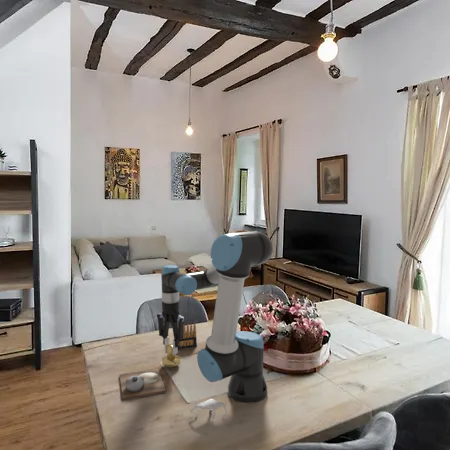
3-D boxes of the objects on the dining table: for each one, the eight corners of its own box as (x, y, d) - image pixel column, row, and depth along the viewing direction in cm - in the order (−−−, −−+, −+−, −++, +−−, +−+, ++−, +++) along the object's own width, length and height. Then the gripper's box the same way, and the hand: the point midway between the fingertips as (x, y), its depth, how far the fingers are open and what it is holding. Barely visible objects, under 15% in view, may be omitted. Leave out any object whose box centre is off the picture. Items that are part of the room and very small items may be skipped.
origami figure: (220, 406, 131) (220, 393, 131) (228, 420, 124) (228, 406, 123) (188, 413, 127) (188, 399, 127) (194, 427, 119) (194, 413, 119)
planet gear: (182, 365, 158) (182, 347, 157) (164, 368, 155) (163, 350, 154) (178, 357, 165) (177, 340, 165) (160, 360, 162) (160, 343, 162)
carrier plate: (165, 392, 140) (165, 380, 139) (122, 400, 134) (122, 387, 134) (158, 370, 157) (157, 359, 156) (119, 376, 151) (119, 365, 151)
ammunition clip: (195, 345, 183) (195, 322, 182) (196, 346, 181) (196, 323, 180) (175, 348, 179) (174, 324, 178) (175, 349, 178) (175, 326, 176)
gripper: (191, 301, 158) (191, 353, 160) (159, 296, 165) (160, 346, 167) (182, 305, 151) (182, 360, 153) (149, 300, 158) (150, 352, 160)
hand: (171, 352), depth 160 cm, fingers closed on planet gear, 3 cm apart
